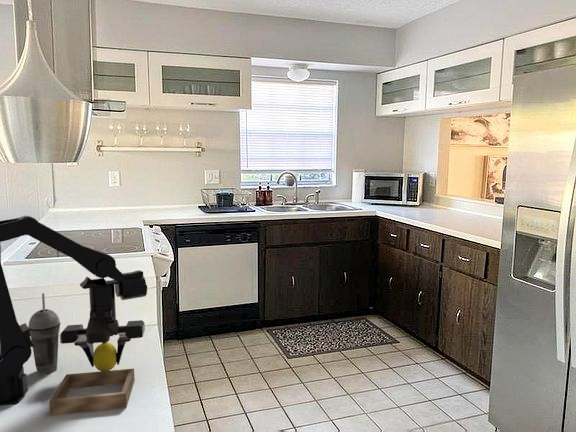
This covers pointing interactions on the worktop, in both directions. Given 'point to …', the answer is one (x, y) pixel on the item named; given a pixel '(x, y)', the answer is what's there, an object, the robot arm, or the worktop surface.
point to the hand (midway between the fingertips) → (105, 365)
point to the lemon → (105, 357)
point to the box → (92, 402)
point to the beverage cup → (45, 339)
